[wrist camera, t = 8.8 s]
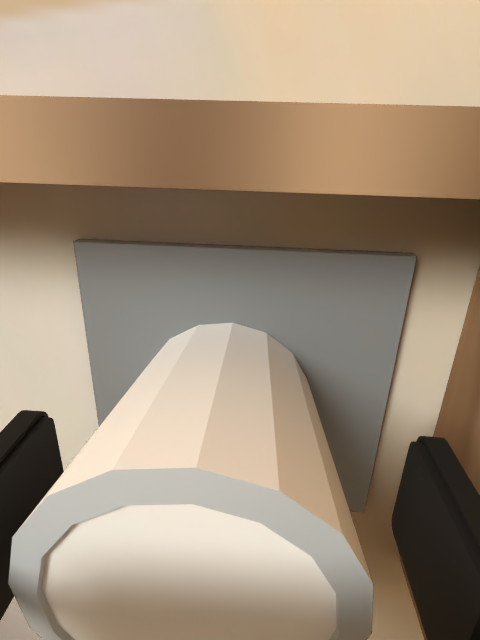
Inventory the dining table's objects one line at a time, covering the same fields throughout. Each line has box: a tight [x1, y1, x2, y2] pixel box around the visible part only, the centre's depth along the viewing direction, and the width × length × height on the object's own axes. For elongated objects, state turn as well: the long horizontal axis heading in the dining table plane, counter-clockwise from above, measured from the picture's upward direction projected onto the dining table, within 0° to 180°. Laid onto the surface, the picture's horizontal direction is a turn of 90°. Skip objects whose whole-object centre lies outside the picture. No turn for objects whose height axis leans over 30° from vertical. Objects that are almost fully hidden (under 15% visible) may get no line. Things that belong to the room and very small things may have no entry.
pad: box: [73, 239, 417, 512], centre depth 14 cm, size 10×10×1 cm
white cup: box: [8, 323, 373, 640], centre depth 11 cm, size 7×7×7 cm
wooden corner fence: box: [0, 95, 480, 640], centre depth 12 cm, size 19×17×4 cm
